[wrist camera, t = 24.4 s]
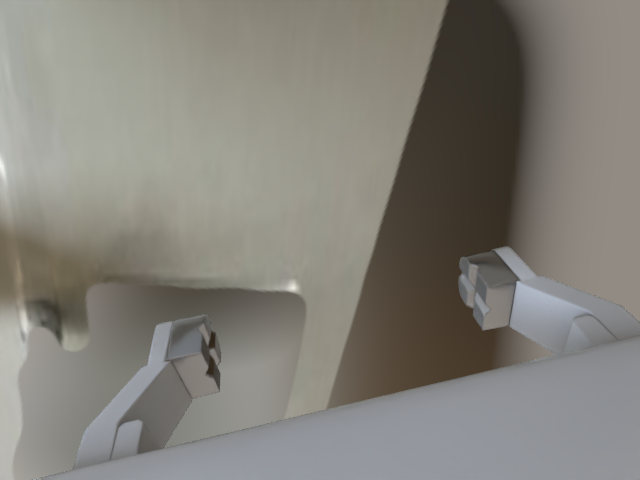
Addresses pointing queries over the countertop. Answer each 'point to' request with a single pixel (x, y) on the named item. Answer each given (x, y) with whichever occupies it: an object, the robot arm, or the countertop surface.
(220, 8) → the countertop surface
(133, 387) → the robot arm
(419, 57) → the countertop surface
